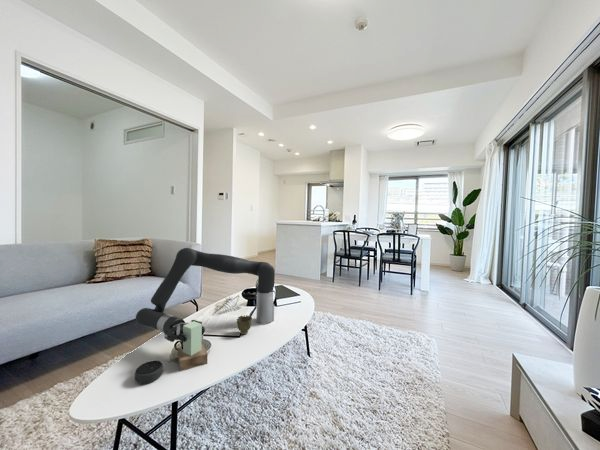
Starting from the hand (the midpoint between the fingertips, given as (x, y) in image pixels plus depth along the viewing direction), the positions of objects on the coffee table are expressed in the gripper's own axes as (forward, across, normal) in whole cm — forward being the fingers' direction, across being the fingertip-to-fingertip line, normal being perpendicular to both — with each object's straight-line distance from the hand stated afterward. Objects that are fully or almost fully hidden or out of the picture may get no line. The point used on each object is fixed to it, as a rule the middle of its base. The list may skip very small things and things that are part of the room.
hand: (195, 334), depth 99 cm
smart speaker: (-7, -14, +12) cm, 20 cm away
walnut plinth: (-2, 0, +12) cm, 12 cm away
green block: (-2, 0, +8) cm, 8 cm away
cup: (+1, +28, +12) cm, 31 cm away
